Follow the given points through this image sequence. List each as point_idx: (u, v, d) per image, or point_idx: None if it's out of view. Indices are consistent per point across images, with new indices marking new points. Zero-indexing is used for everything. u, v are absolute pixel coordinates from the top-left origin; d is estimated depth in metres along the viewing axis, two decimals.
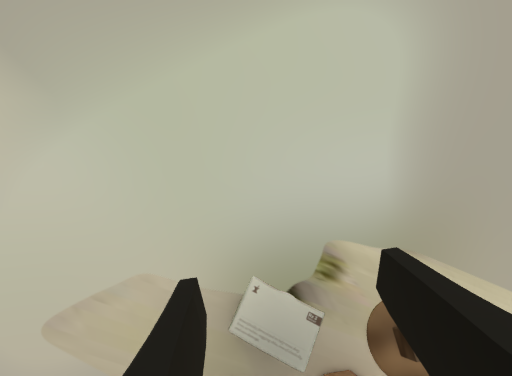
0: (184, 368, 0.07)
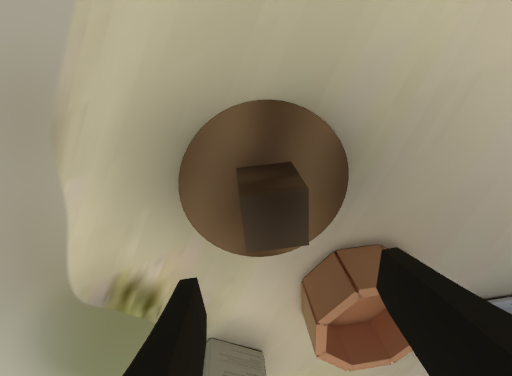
0: (184, 368, 0.07)
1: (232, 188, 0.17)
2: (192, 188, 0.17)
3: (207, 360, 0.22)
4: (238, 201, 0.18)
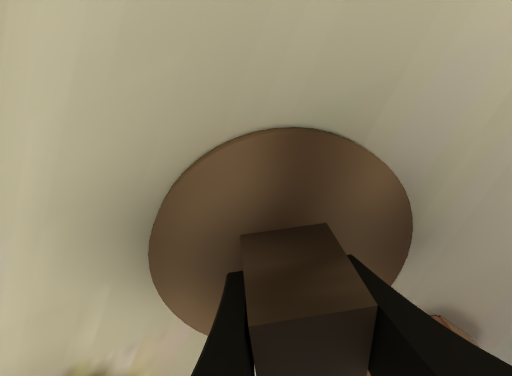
0: (248, 357, 0.07)
1: (233, 263, 0.11)
2: (171, 265, 0.11)
3: None
4: None
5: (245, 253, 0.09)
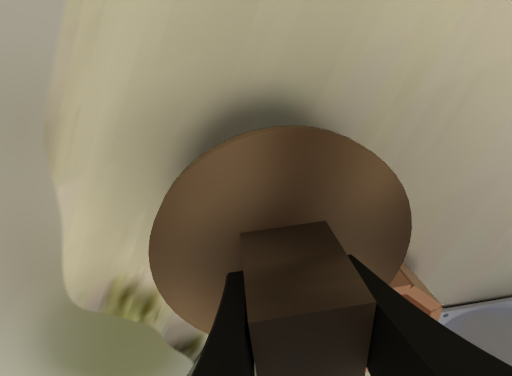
0: (248, 357, 0.07)
1: (233, 261, 0.11)
2: (171, 263, 0.11)
3: None
4: None
5: (245, 251, 0.10)
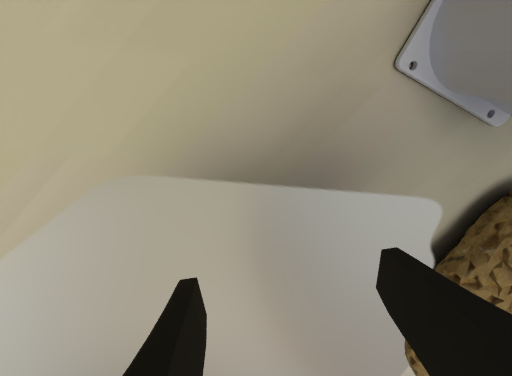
0: (184, 368, 0.07)
1: None
2: None
3: None
4: None
5: None
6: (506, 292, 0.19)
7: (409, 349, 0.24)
